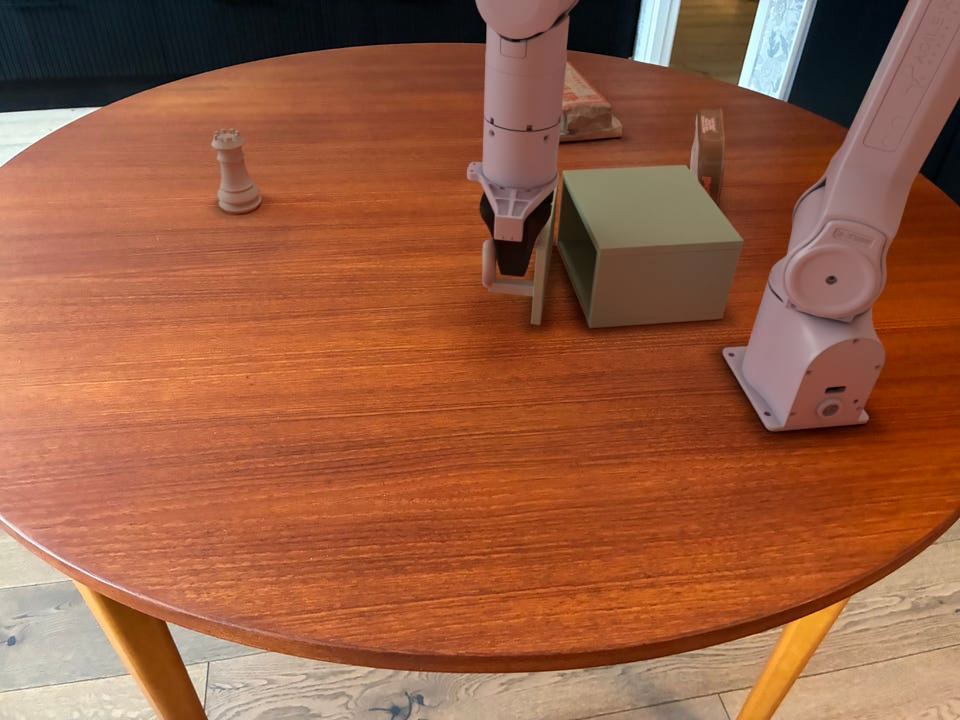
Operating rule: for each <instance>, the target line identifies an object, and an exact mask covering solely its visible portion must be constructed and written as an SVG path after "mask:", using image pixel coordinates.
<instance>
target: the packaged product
mask: <svg viewBox="0 0 960 720" xmlns="http://www.w3.org/2000/svg"><path fill="white" fill-rule="evenodd" d="M612 110H613V109H612V104H611V103H610V101H608V100H607V99H606V97H605V96H604V95H603V94H601V93H600V91H599V90H598V89H596V87H594V86H593V84H592V82H590V81H589V80H588V79H587V78H586V77H585V76H584V75H583V74H581V72H580V71H578V69H577V68H576V67H575V66H574V65H573V64H572V62H570V61H567V62H566V71H565V82H564V93H563V103H562V114H561V126H560V137H559V143H561V142H573V141H585V140H596V139H597V140H598V139H607V138H619V137H623V130H624V124H621V121H620V120H619V119H618V118H617V117H616V116H615V115H614V114H613V111H612Z"/></svg>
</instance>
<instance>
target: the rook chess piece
mask: <svg viewBox="0 0 960 720" xmlns="http://www.w3.org/2000/svg"><path fill="white" fill-rule="evenodd" d="M212 136H213V139H212V141H211V144H210V145H211V146H212V148H213V149H214V150H215V151H217V156H216V160H217V161H218V162H219V166H220V177H221V178H220V179H221V180H220V183H219V188H218V190H217V198H218V206H219V208H221V209H222V210H223V211H225V212H227V213H230V214H234V215H235V214H236V215H237V214H246V213H250V212H252V211H254V210H256V209H257V208H258V207H259V206H260V204H261V202H262V196H261V195H260V189H259V187H258V185H257V184H256V183H254V180H253V178H251V176H250V174H249V172H248V169H247V167H246V166H247V165H246V163H245V156H246V154H245V152H244V151H243V149H242V148H243V146H244V144H245V142H246V141H245V139H244V137H242V136H241V135H240V131H239V129H237V130H236V129H235V128H231V127H230V128H229V132H227V129H226V128H220V131H219V130H215V131H214V132H213V135H212Z"/></svg>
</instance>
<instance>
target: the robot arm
mask: <svg viewBox="0 0 960 720" xmlns="http://www.w3.org/2000/svg"><path fill="white" fill-rule="evenodd" d="M474 1H475V4H476V7H477V10H478V13H479V14H480V16H481V19H483V21H484V22H485V23H486V34H485V35H486V38H485V39H486V40H485V41H486V42H485V55H484V56H485V57H484V58H485V59H484V60H485V61H484V68H485V69H484V95H483V96H484V97H483V102H484V103H483V129H482V130H483V133H482V134H483V136H482V161H472V162H470V163H469V164H468V167H467V169H466V179H467V180H468V181H469V182H478V183H480V185H481V187H482V190H483V194H481V197H480V201H479V207H478V208H479V209H478V210H479V213H480V217H481V219H482V221H483V222H484V224H485V225H486V227H487V229H488V231H489V233H490V236H491V239H492V240H493V243H494V247H495V253H496V258H497V263H496V264H497V268H498V271H499V274H500V275H501V276H508V277H518V278H519V277H520V278H524V277H525V276H526V273H527V271H528V268H529V265H530V261H531V258H532V254H533V250H534V247H535V244H536V241H537V240H538V238H539V234H540V232H541V230H542V229H543V227H544V226H545V225H546V224H547V222H548V220H549V218H550V216H551V211H552V205H551V203H552V202H553V197H554V189H555V188H556V186H557V184H558V185H559V183H558V175H559V170H558V157H559V148H560V147H559V146H560V142H559V137H560V126H561V114H562V103H563V93H564V82H565V71H566V62H568V61H567V60H568V52H567V46H568V37H569V25H570V15H569V13H570V11H571V10H572V9H573V8H574V7H575V6H576V5H577V4H578V2H579V1H580V0H474ZM898 21H899V22H898V24H897V26H896V28H895V30H894V32H893V34H892V36H891V39H890V41H889V43H888V45H887V47H886V49H885V52H884V54H883V56H882V57H881V60H880V62H879V64H878V67H877V69H876V71H875V73H874V76H873V78H872V79H871V82H870V84H869V86H868V89H867V91H866V93H865V94H864V97H863V100H862V102H861V104H860V106H859V108H858V111H857V112H856V114H855V117H854V119H853V120H852V123H851V124H850V125H851V126H850V127H849V130H848V132H847V134H846V136H845V139H844V141H843V143H842V144H841V146H840V148H839V149H838V150H837V151H836V152H834V155H833V156H832V157H831V159H830V161H829V163H828V165H827V167H826V170H825V172H824V173H823V174H822V176H821V177H820V179H819V180H817V182H815V183H814V184H813V185H812V186H811V187H809V188H808V189H807V190H805V191H804V192H803V193H802V194H801V195H800V197H799V198H798V199H797V201H796V203H795V206H794V207H793V211H792V215H791V226H792V228H791V232H790V238H789V241H788V247H787V251H786V252H787V253H786V255H785V256H783V257H782V258H781V259H780V260H778V261H777V262H776V263H775V264H774V265H772V267H771V269H770V271H769V275H768V278H767V282H766V284H765V287H764V291H763V295H762V297H761V301H760V304H759V307H758V311H757V313H756V316H755V320H754V323H753V327H752V329H751V333H750V337H749V340H748V343H747V345H744V346H743V345H742V346H728V347H724V348H723V349H722V353H721V354H722V356H723V358H724V359H725V361H726V363H727V365H728V366H729V368H730V369H731V371H732V373H733V375H734V377H736V379H737V382H738V383H739V385H740V387H741V388H742V390H743V392H744V393H745V395H746V397H747V398H748V400H749V402H750V403H751V405H752V407H753V408H754V410H755V412H756V413H757V415H758V417H759V418H760V420H761V422H762V423H763V426H764V427H765V428H766V429H767V430H768V431H769V432H782V431H783V432H784V431H794V430H806V429H807V430H808V429H816V428H827V427H828V428H829V427H838V426H839V427H840V426H852V425H863V424H867V422H868V421H869V419H870V417H869V415H868V413H867V411H865V409H864V408H865V406H866V404H867V402H868V400H869V397H870V395H871V394H872V391H873V389H874V387H875V385H876V383H877V380H878V379H879V376H880V374H881V372H882V370H883V367H884V365H885V363H886V350H885V347H884V345H883V343H882V342H881V340H880V338H879V337H878V334H877V331H876V330H875V327H874V322H873V321H874V320H873V305H874V303H875V302H876V301H877V299H879V297H880V296H881V294H882V293H883V291H884V289H885V286H886V282H887V276H888V275H887V274H888V273H887V272H888V271H887V254H888V251H889V249H890V247H891V245H892V243H893V241H894V239H895V238H896V236H897V233H898V230H899V227H900V225H901V221H902V219H903V215H904V211H905V207H906V204H907V201H908V197H909V194H910V191H911V188H912V185H913V183H914V181H915V180H916V177H917V176H918V174H919V172H920V170H921V168H922V166H923V165H924V163H925V161H926V159H927V157H928V156H929V154H930V152H931V150H932V148H933V146H934V144H935V143H936V141H937V139H938V138H939V136H940V133H941V132H942V130H943V128H944V126H945V125H946V123H947V121H948V119H949V117H950V116H951V114H952V112H953V110H954V108H955V106H956V104H957V102H958V101H959V99H960V0H908V2H907V4H906V5H905V8H904V10H903V12H902V15H901V17H900V19H899V20H898Z"/></svg>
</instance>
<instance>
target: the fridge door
mask: <svg viewBox="0 0 960 720" xmlns="http://www.w3.org/2000/svg"><path fill="white" fill-rule="evenodd" d="M559 182H560V174H558V184H557V186H556V188H555V189H554V197H553V202H552V203H551V205H552V211H551V216H550V218H549V220H548V222H547V224H546V225H545V226H544V227H543V229H542V230H541V232H540V233H539V235H538V238H537V246H536V249H535V250H536V251H535V265H534V278H533V280H528V279H518V278H517V279H516V278H509V277H508V278H507V277H499V276H498V277H497V264H498V263H497V258H496V253H495V247H494V243H493V239H492V238H488V239H486V240H484V242H483V243H482V255H481V256H482V259H481V284H482V286H483V287H484V288H486V289H487V292H488V293H493V294H494V293H495V294H504V295H505V294H506V295H514V296H524V297H532V303H531V304H532V306H531V308H532V309H531V319H530V324H531V325H536V326H541V324H542V323H541V322H542V317H543V309H544V303H545V297H546V291H547V285H548V278H549V272H550V267H551V266H550V265H551V259H552V254H553V253H552V252H553V247H554V238H555V227H556V215H557V206H558V205H557V203H558V193H559V184H560V183H559Z"/></svg>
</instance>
